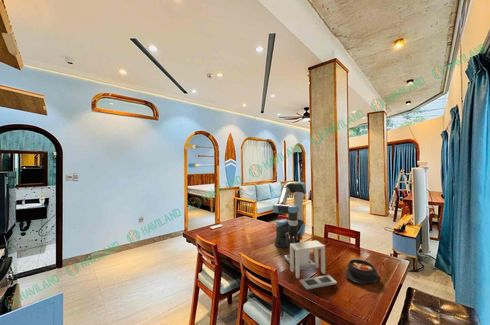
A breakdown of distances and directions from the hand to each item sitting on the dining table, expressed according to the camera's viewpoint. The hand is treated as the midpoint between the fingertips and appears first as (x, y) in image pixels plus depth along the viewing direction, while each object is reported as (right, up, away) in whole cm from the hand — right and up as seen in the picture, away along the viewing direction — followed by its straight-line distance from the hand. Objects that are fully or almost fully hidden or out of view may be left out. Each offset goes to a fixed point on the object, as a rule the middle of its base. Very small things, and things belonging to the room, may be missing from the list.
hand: (293, 252), depth 160 cm
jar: (+3, -4, -14) cm, 15 cm away
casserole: (+40, -4, -28) cm, 48 cm away
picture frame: (+2, -3, -9) cm, 9 cm away
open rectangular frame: (+6, -4, -26) cm, 27 cm away
